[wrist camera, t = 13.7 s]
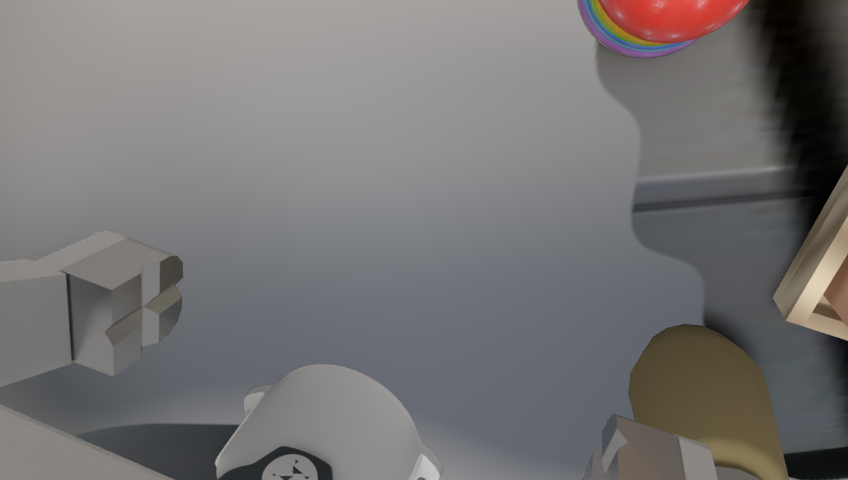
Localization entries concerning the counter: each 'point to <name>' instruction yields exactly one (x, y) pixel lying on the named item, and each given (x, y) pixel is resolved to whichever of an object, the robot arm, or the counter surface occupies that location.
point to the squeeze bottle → (709, 400)
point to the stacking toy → (654, 23)
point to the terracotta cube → (839, 292)
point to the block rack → (818, 268)
